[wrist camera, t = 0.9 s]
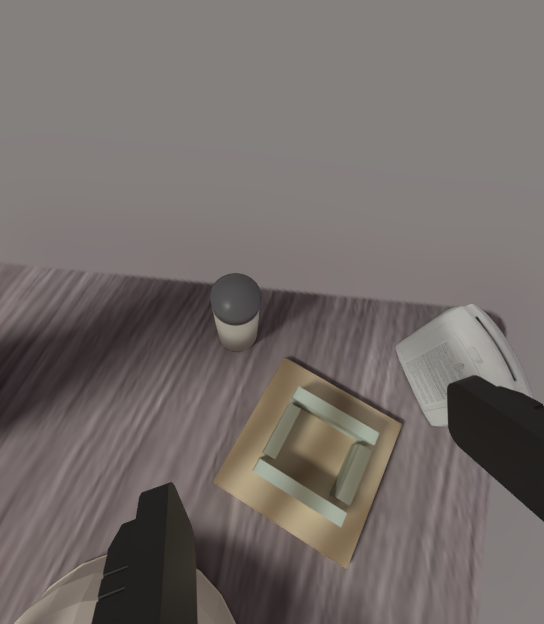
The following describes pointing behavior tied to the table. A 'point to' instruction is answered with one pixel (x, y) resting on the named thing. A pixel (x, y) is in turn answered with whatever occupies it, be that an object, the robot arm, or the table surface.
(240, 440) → the holder
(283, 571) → the table surface
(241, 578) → the table surface
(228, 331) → the grey and white cylinder
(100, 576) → the kettle
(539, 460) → the robot arm
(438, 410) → the photo printer
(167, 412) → the table surface
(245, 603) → the table surface
